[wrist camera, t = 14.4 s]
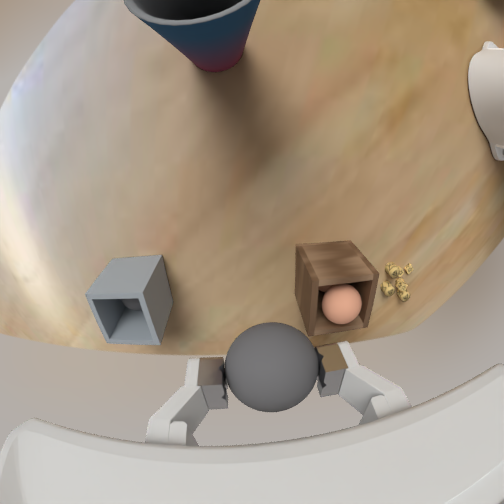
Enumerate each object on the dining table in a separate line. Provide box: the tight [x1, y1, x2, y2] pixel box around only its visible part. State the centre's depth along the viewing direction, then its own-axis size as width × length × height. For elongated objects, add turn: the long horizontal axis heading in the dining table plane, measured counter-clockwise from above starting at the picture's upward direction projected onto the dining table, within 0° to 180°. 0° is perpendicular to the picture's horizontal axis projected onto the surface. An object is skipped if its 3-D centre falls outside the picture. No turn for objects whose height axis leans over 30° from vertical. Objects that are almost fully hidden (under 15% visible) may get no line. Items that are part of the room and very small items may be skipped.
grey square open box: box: [85, 255, 173, 345], centre depth 27 cm, size 6×6×7 cm
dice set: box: [381, 262, 413, 302], centre depth 32 cm, size 5×5×2 cm
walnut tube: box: [295, 241, 379, 336], centre depth 27 cm, size 6×6×7 cm
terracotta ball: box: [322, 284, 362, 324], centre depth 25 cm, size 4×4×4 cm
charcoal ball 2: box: [225, 322, 319, 412], centre depth 11 cm, size 4×4×4 cm
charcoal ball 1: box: [121, 298, 142, 310], centre depth 28 cm, size 4×4×4 cm
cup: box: [124, 0, 260, 72], centre depth 13 cm, size 7×7×15 cm
